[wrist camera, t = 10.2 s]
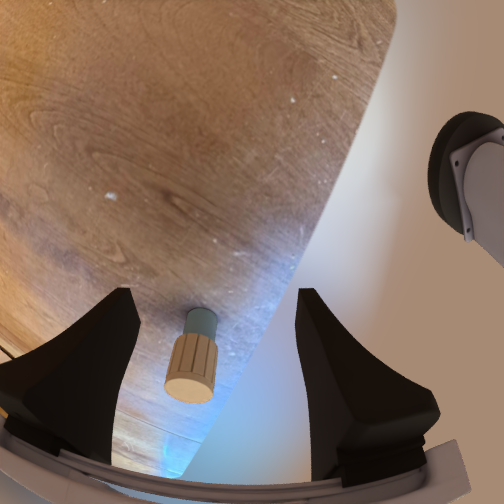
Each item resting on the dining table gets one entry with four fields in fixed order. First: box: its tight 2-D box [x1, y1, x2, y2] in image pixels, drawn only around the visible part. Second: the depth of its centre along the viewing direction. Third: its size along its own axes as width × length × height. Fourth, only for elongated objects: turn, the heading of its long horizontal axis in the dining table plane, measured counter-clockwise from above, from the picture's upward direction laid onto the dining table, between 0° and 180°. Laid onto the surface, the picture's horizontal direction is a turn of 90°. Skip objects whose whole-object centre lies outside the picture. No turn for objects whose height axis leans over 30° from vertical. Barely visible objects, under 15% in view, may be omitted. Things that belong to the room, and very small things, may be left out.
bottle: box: [183, 308, 217, 342], centre depth 23 cm, size 3×3×6 cm
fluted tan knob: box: [164, 333, 218, 404], centre depth 20 cm, size 4×4×4 cm
